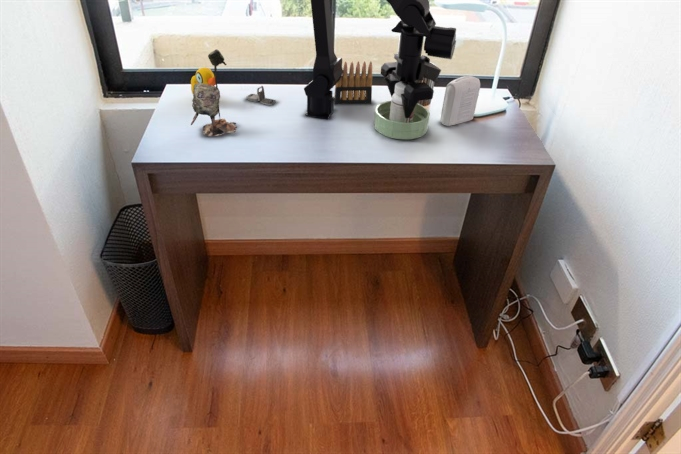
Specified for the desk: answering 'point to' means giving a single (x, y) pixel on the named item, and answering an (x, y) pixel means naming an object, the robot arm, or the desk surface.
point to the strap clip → (260, 97)
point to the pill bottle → (398, 106)
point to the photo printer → (460, 100)
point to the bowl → (399, 128)
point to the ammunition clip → (354, 86)
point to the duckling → (203, 77)
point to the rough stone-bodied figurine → (211, 102)
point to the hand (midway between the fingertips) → (402, 112)
